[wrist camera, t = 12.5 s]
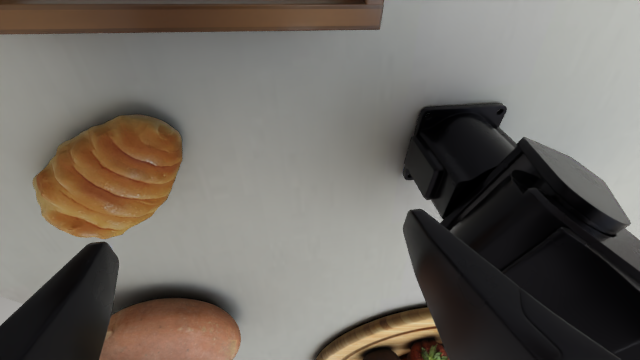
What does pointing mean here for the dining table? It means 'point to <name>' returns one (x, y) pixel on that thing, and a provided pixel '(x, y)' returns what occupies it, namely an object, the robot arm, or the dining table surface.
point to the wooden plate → (390, 339)
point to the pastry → (110, 176)
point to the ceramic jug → (171, 332)
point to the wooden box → (186, 16)
